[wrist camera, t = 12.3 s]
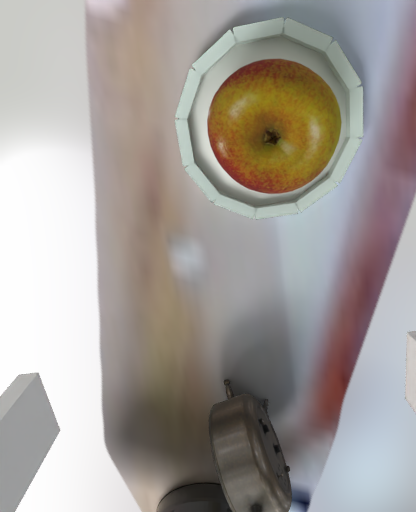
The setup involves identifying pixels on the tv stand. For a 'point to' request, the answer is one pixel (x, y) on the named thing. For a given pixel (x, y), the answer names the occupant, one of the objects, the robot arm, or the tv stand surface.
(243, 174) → the fruit
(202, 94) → the dish
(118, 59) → the tv stand surface
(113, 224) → the tv stand surface
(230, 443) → the alarm clock
